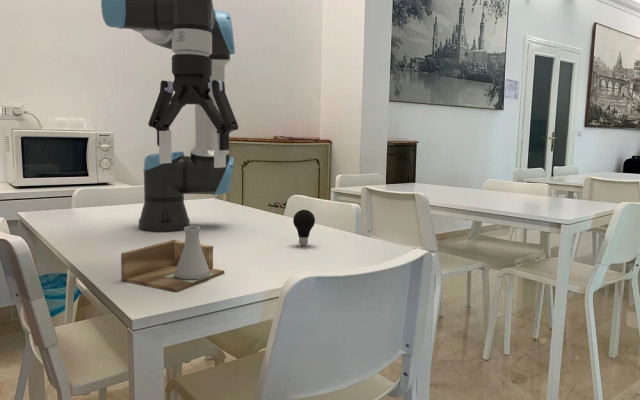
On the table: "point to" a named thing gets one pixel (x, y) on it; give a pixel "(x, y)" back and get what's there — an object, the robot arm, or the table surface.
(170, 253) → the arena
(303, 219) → the light bulb
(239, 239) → the table surface
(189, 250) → the flask
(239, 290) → the table surface
